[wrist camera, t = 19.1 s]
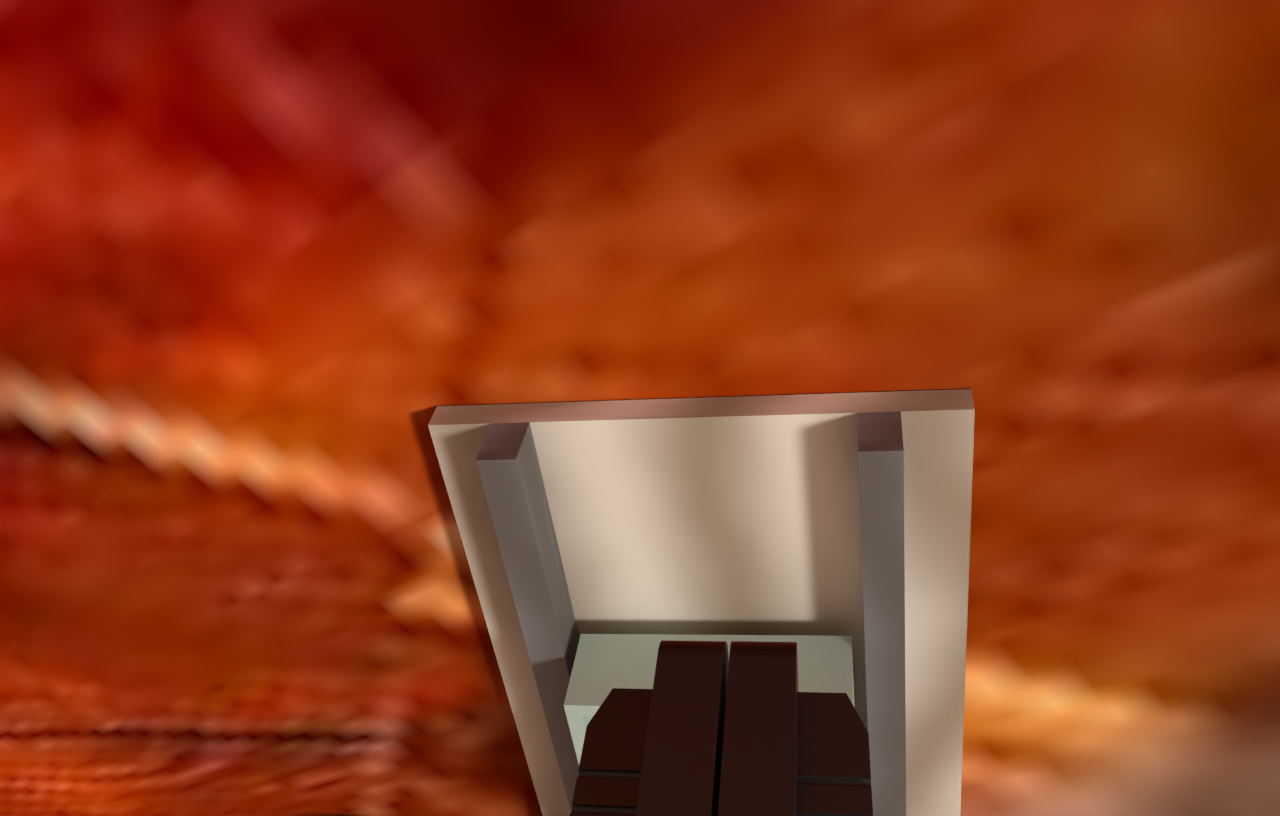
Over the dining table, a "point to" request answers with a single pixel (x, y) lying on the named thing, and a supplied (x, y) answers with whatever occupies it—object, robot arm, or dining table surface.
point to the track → (728, 551)
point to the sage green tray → (636, 654)
